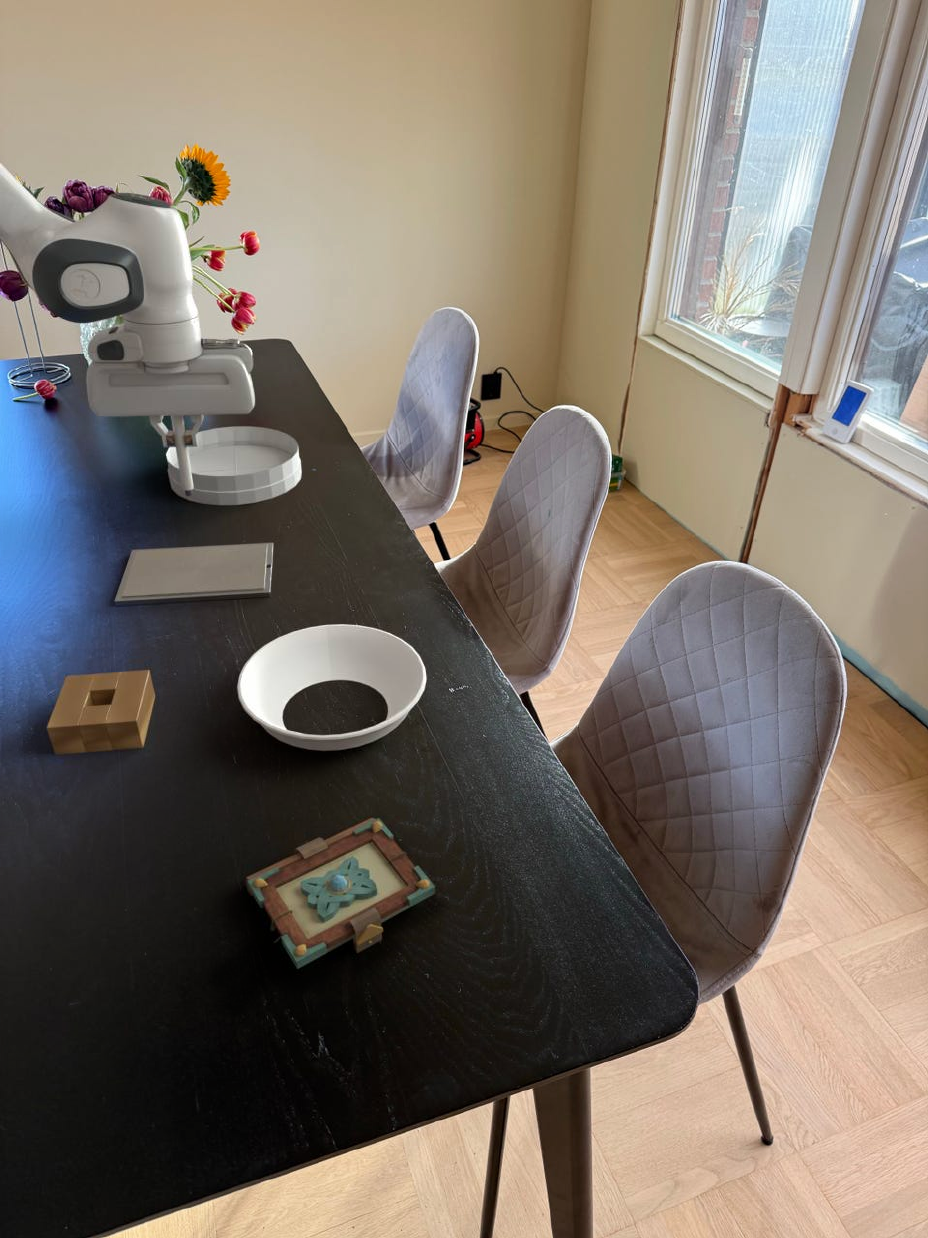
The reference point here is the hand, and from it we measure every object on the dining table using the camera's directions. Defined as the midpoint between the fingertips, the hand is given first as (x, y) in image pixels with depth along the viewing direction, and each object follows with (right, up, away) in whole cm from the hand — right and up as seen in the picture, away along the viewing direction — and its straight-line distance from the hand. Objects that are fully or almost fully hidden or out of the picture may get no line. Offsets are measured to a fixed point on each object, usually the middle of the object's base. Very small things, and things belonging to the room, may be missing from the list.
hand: (181, 445), depth 113 cm
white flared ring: (+23, -34, -19) cm, 46 cm away
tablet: (0, -17, +7) cm, 18 cm away
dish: (-2, +1, +34) cm, 34 cm away
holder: (0, -35, -21) cm, 41 cm away
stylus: (0, -6, +4) cm, 7 cm away
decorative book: (+26, -49, -41) cm, 69 cm away
